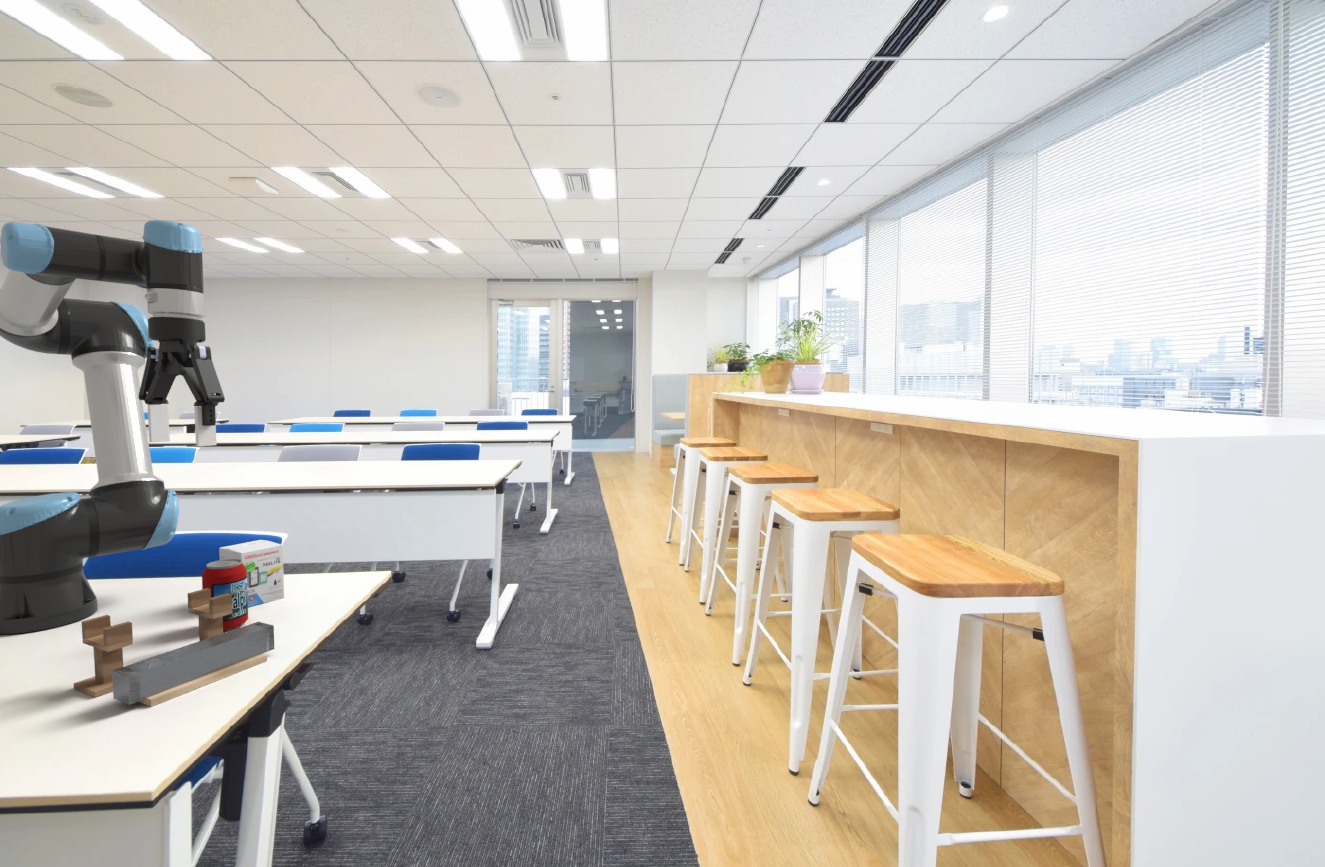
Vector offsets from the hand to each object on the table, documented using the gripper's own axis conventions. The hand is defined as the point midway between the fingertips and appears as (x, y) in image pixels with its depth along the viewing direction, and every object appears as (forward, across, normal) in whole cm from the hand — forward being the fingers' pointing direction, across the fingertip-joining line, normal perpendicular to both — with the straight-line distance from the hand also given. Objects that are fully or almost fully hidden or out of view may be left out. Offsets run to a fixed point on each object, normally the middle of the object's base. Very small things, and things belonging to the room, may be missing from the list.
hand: (182, 443), depth 103 cm
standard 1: (+35, +6, -14) cm, 38 cm away
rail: (+34, +16, -7) cm, 38 cm away
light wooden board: (+35, +16, -7) cm, 39 cm away
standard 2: (+35, +6, 0) cm, 35 cm away
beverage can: (+35, -2, +7) cm, 36 cm away
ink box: (+35, -12, +18) cm, 41 cm away
